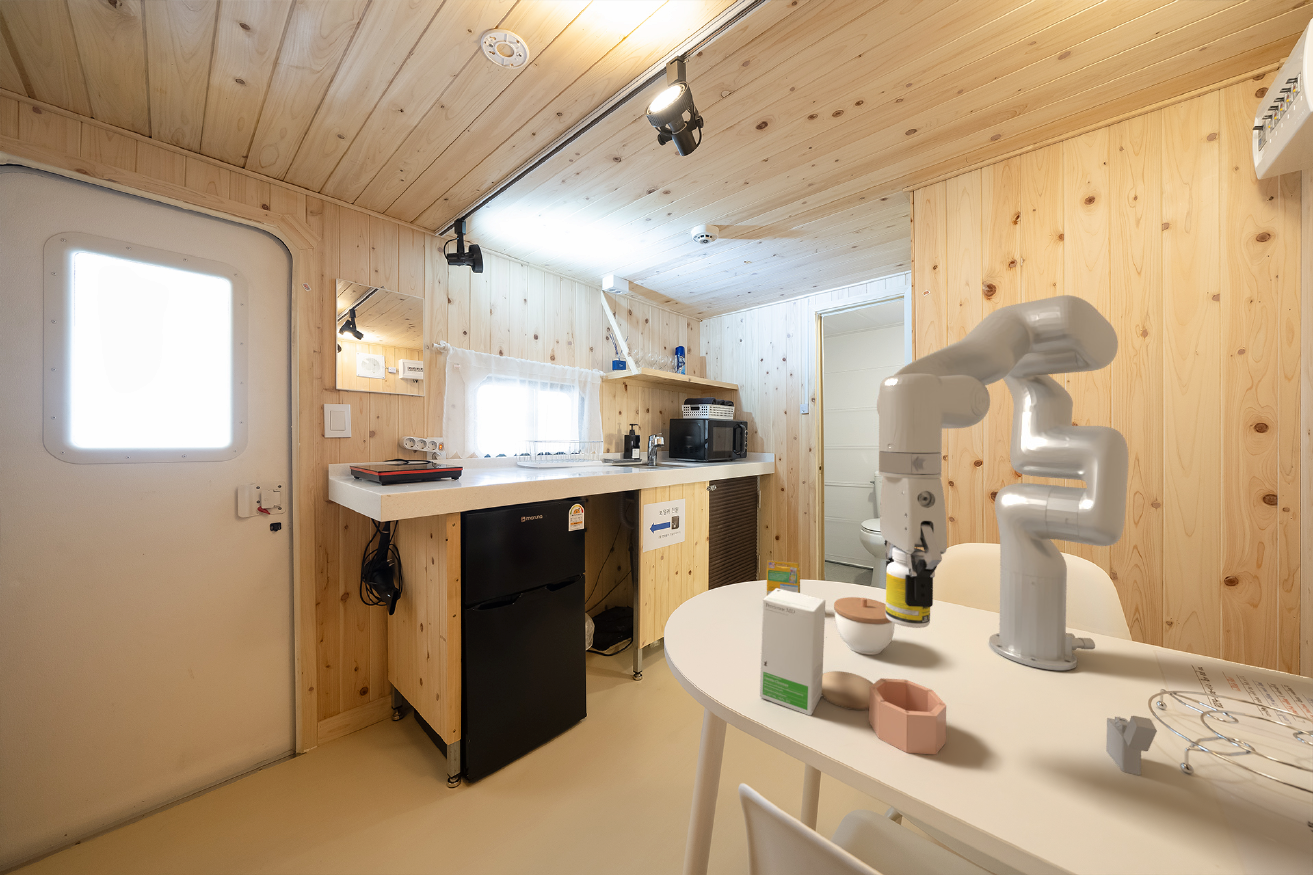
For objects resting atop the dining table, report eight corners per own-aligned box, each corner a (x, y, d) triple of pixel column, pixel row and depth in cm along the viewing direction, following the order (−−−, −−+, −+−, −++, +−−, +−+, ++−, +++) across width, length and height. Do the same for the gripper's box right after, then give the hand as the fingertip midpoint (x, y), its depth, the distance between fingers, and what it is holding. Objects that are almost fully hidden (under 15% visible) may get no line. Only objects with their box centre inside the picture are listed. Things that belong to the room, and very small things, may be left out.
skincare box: (758, 698, 71) (759, 598, 71) (773, 679, 77) (774, 586, 76) (813, 717, 67) (814, 610, 66) (825, 695, 72) (826, 596, 72)
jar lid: (866, 678, 77) (866, 672, 77) (888, 711, 68) (889, 704, 68) (811, 675, 78) (811, 669, 78) (826, 708, 69) (826, 701, 69)
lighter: (1105, 749, 60) (1106, 689, 60) (1123, 753, 59) (1124, 692, 59) (1135, 788, 53) (1137, 721, 53) (1156, 793, 53) (1157, 724, 52)
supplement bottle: (929, 632, 59) (930, 557, 59) (883, 623, 62) (884, 551, 62) (930, 618, 64) (931, 548, 64) (887, 609, 67) (888, 543, 67)
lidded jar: (881, 635, 93) (882, 589, 93) (905, 662, 82) (905, 610, 82) (827, 633, 94) (827, 587, 94) (843, 659, 83) (843, 608, 83)
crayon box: (800, 609, 106) (800, 559, 106) (799, 614, 103) (799, 563, 103) (768, 605, 109) (768, 556, 109) (766, 610, 106) (766, 560, 106)
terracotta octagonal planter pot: (923, 714, 67) (923, 680, 67) (956, 755, 59) (956, 716, 59) (862, 710, 68) (863, 677, 68) (886, 751, 59) (886, 713, 59)
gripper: (976, 471, 54) (974, 624, 54) (909, 461, 71) (908, 577, 71) (909, 471, 54) (907, 622, 55) (858, 460, 72) (858, 576, 72)
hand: (907, 595), depth 63 cm, fingers closed on supplement bottle, 5 cm apart
